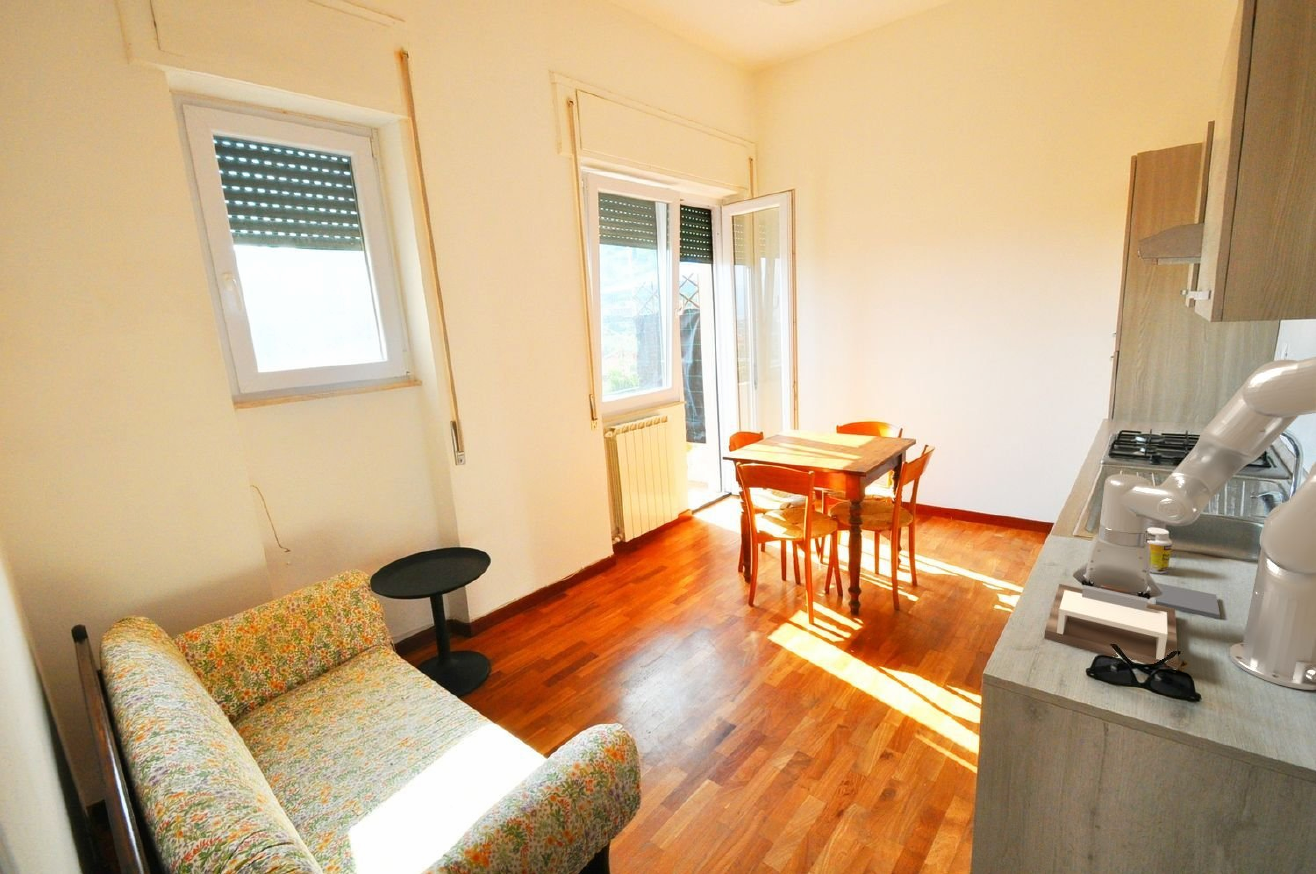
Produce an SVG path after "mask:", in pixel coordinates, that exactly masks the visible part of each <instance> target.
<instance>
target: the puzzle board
mask: <svg viewBox="0 0 1316 874" xmlns="http://www.w3.org/2000/svg"><path fill="white" fill-rule="evenodd" d="M1065 590H1067V591H1072V592H1076V593H1081V594H1082V591H1083V588H1081V587H1077V586H1076V587H1075V586H1070V585H1065V584H1061V583H1058V587H1057V591H1056V594H1055V596H1054V600H1053V603H1052V605H1051V606H1052V607H1051V609H1050V612H1049V616H1048V620H1047V623H1046V625H1045V629H1044V635H1043V636H1044V637H1043V638H1044V639H1045V640H1048V641H1053V642H1056V643H1060V644H1064V645H1066V646H1071V647H1074V648H1079V649H1082V650H1085V651H1089V652H1093V653H1096V654H1100V655H1104V656H1107V657H1111V656H1114V657H1118V655H1117V654H1116V652H1115V651H1114V650H1113V648H1112V646H1111V645H1110V644H1116V645H1117V646H1118V647H1119V648H1120V649H1121V650H1122V651H1123V653H1124V654H1125V655H1126V657H1128V658H1130V659H1131V660H1138V661H1140V662H1144V663H1149V664H1154V663H1157V662H1159V661H1160V660H1159V659H1156V637H1154V636H1150V635H1146V634H1142V633H1138V632H1134V631H1130V630H1125V629H1121V628H1117V627H1113V626H1109V625H1105V624H1101V623H1097V622H1093V621H1089V620H1084V619H1080V618H1076V617H1072V616H1068V617H1067V621H1066V624H1065V628H1064V632H1063V634H1060V633H1057V626H1058V617H1059V608H1060V605H1061V601H1062V598H1063V594H1064V591H1065ZM1147 608H1149V609H1153V610H1158V611H1163V612H1167V641H1166V647H1165V654H1164V658H1166V657H1167V655H1169V654H1170V653H1171V652H1173V651H1177V652H1178V642H1177V641H1178V640H1177V638H1178V637H1177V623H1176V622H1177V621H1176V620H1177V619H1176V618H1177V617H1176V610H1175V609H1174V608H1169V607H1164V606H1160V605H1156V603H1155V604H1154V603H1150V602H1147ZM1114 657H1113V658H1114ZM1166 665H1167V666H1170V667H1172V668H1173V669H1177V670H1178V666H1179V661H1178V653H1177V654H1176V655H1175V656H1174V657H1173V658H1171V659H1170V660H1168V661H1167V662H1166Z"/></svg>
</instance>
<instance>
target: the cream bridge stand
mask: <svg viewBox="0 0 1316 874" xmlns="http://www.w3.org/2000/svg"><path fill="white" fill-rule="evenodd" d="M1082 589H1083V591H1082V594H1081V593H1076V592H1072V591H1067V590H1065V591H1064V594H1063V598H1062V601H1061V605H1060V608H1059V617H1058V626H1057V633H1060V634H1063V632H1064V628H1065V624H1066V621H1067V617H1068V616H1072V617H1076V618H1080V619H1084V620H1089V621H1093V622H1097V623H1101V624H1105V625H1109V626H1113V627H1117V628H1121V629H1125V630H1130V631H1134V632H1138V633H1142V634H1146V635H1150V636H1154V637H1156V659H1159V660H1162V659H1164V654H1165V647H1166V641H1167V612H1163V611H1158V610H1153V609H1149V608H1147V603H1149V602H1148V600H1149V599H1147V598H1143V597H1138V596H1133V595H1128V594H1124V593H1119V592H1114V591H1110V590H1105V589H1100V588H1096V587H1091V586H1086V585H1082Z"/></svg>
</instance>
